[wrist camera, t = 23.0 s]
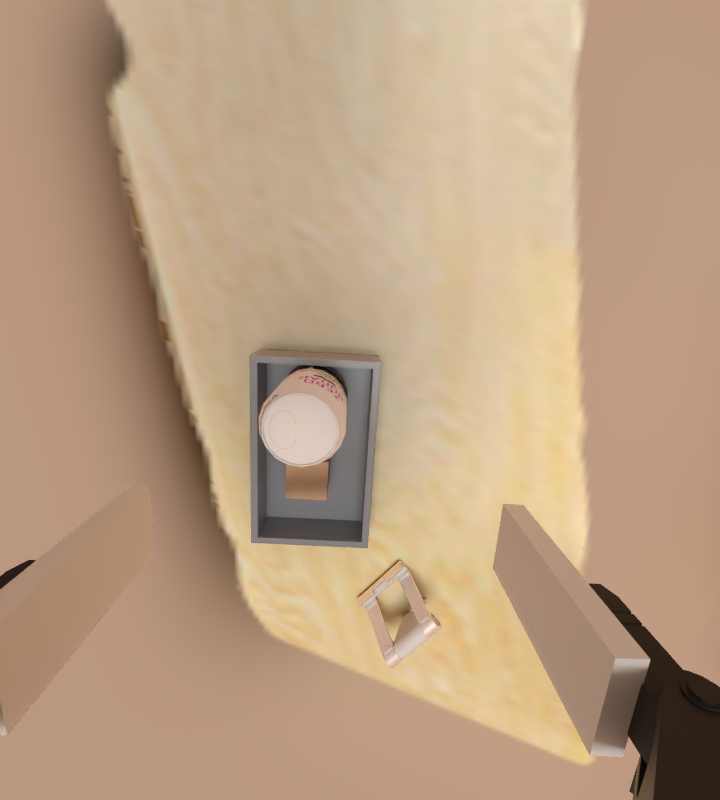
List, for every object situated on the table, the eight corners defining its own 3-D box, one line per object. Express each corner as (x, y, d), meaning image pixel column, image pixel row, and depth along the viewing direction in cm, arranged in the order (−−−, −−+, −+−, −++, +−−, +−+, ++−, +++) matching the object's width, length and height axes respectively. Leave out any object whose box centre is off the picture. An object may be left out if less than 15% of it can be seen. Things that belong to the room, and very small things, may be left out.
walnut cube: (292, 444, 52) (286, 459, 47) (331, 447, 52) (328, 462, 47) (291, 479, 53) (285, 497, 48) (329, 482, 53) (326, 500, 48)
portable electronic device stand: (398, 557, 57) (405, 600, 49) (436, 589, 59) (449, 636, 51) (357, 594, 59) (357, 642, 51) (395, 625, 60) (401, 675, 52)
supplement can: (284, 424, 51) (257, 472, 37) (282, 360, 49) (252, 385, 35) (347, 424, 51) (345, 473, 37) (347, 361, 49) (345, 386, 35)
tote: (261, 348, 50) (249, 354, 44) (378, 355, 50) (381, 362, 44) (261, 518, 55) (251, 542, 50) (366, 523, 56) (367, 548, 50)
